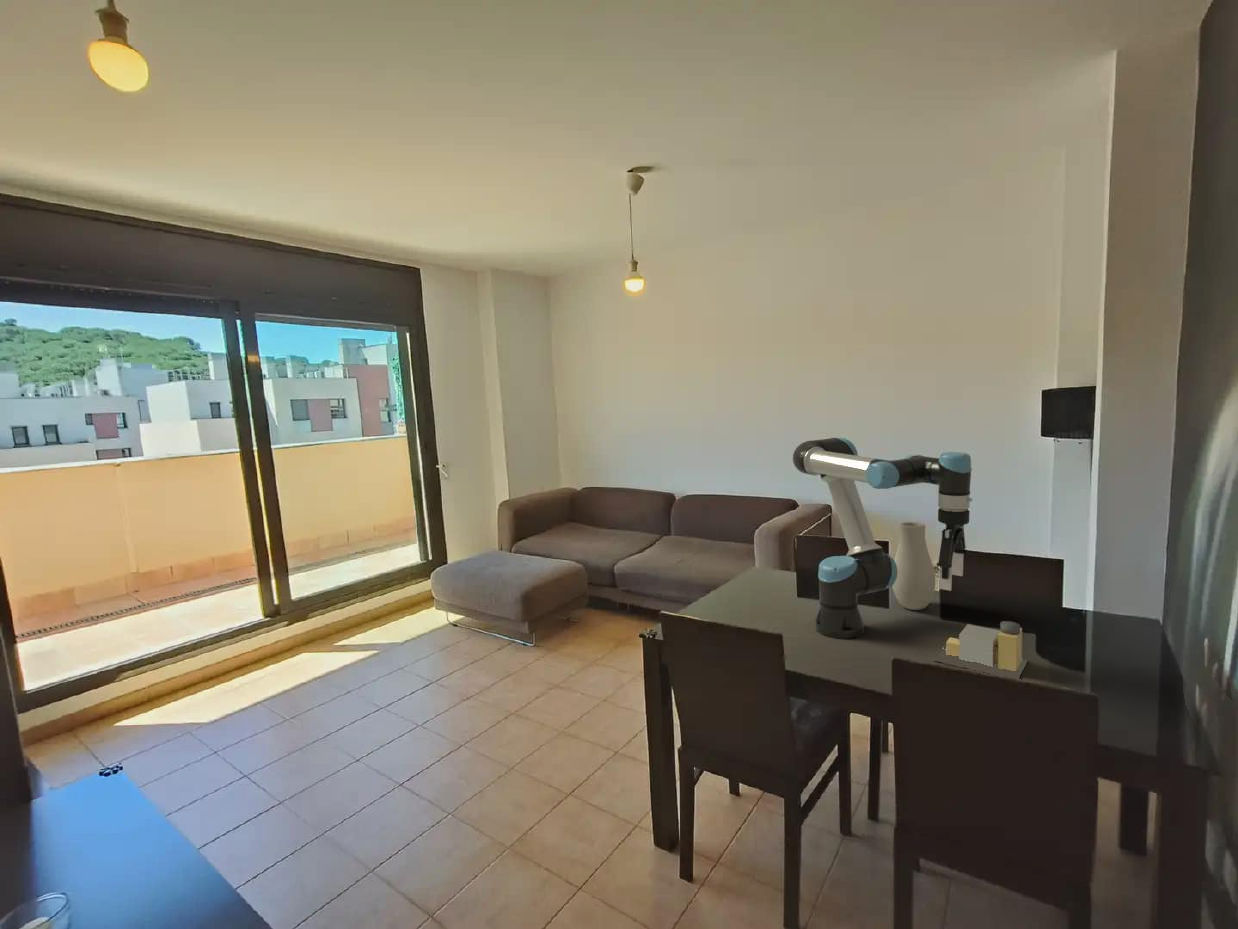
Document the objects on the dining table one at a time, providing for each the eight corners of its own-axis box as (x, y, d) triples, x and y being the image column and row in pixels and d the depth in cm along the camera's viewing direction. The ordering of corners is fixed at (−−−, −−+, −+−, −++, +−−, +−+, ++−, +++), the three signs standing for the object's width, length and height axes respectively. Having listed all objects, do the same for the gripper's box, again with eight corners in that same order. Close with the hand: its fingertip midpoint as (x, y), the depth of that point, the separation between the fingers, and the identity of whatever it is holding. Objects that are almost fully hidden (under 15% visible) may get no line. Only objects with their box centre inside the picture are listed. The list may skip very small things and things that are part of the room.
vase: (943, 607, 200) (942, 523, 197) (922, 618, 192) (921, 530, 189) (905, 597, 211) (903, 518, 208) (883, 607, 204) (882, 524, 201)
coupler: (944, 658, 163) (943, 617, 162) (952, 648, 169) (951, 608, 167) (1016, 675, 151) (1017, 631, 150) (1022, 663, 157) (1022, 621, 156)
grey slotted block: (959, 662, 160) (959, 634, 159) (967, 650, 166) (967, 624, 166) (992, 670, 155) (992, 641, 154) (1000, 657, 161) (1000, 630, 160)
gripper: (958, 520, 147) (956, 598, 150) (978, 501, 165) (976, 571, 168) (926, 516, 152) (924, 593, 155) (949, 498, 170) (947, 567, 173)
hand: (951, 582), depth 162 cm, fingers open, 13 cm apart
